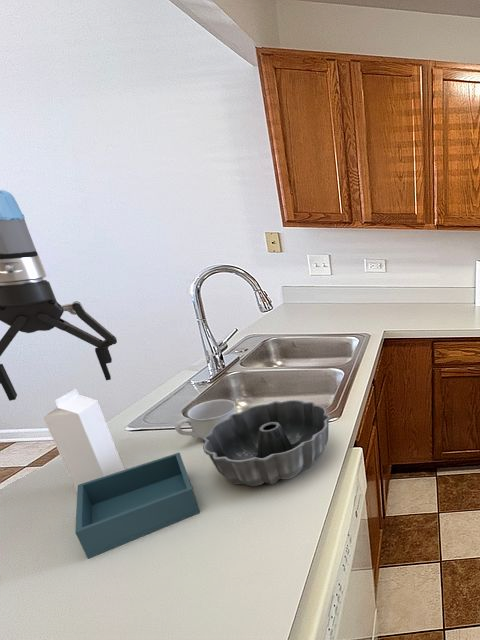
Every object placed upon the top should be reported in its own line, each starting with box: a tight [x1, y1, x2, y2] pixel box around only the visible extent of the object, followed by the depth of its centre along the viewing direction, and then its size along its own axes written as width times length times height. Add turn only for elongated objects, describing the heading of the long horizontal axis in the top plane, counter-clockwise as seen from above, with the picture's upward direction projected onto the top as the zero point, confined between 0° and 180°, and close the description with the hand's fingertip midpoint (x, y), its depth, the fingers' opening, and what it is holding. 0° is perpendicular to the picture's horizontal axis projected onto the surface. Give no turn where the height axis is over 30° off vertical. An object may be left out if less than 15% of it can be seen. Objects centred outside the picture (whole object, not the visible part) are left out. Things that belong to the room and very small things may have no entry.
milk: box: [42, 388, 125, 492], centre depth 84 cm, size 6×6×22 cm
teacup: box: [174, 398, 238, 440], centre depth 104 cm, size 14×11×8 cm
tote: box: [74, 452, 201, 559], centre depth 79 cm, size 17×17×6 cm
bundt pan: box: [202, 399, 331, 487], centre depth 94 cm, size 26×26×10 cm
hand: (63, 387), depth 79 cm, fingers open, 13 cm apart
